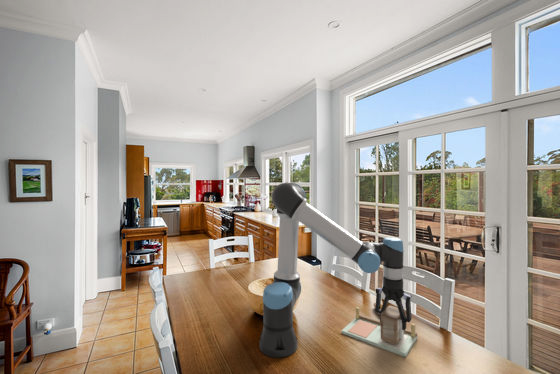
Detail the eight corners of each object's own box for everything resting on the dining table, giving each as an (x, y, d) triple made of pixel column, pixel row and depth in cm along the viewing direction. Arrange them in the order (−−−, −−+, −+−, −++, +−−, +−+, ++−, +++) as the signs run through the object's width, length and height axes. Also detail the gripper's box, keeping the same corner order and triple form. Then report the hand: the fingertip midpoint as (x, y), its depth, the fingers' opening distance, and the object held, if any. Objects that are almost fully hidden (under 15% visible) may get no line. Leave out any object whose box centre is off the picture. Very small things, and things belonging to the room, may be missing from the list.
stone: (380, 307, 142) (380, 299, 142) (393, 321, 128) (393, 311, 128) (370, 308, 142) (370, 299, 142) (382, 321, 127) (382, 312, 127)
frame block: (396, 345, 105) (396, 318, 105) (380, 339, 109) (380, 314, 108) (404, 333, 112) (404, 309, 112) (389, 328, 116) (389, 305, 116)
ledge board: (417, 338, 113) (417, 323, 113) (405, 357, 101) (405, 340, 101) (357, 318, 130) (357, 305, 130) (341, 333, 118) (341, 318, 118)
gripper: (421, 279, 107) (421, 338, 107) (373, 269, 119) (373, 322, 120) (416, 285, 101) (416, 347, 102) (366, 274, 114) (366, 329, 114)
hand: (392, 333), depth 111 cm, fingers closed on frame block, 6 cm apart
